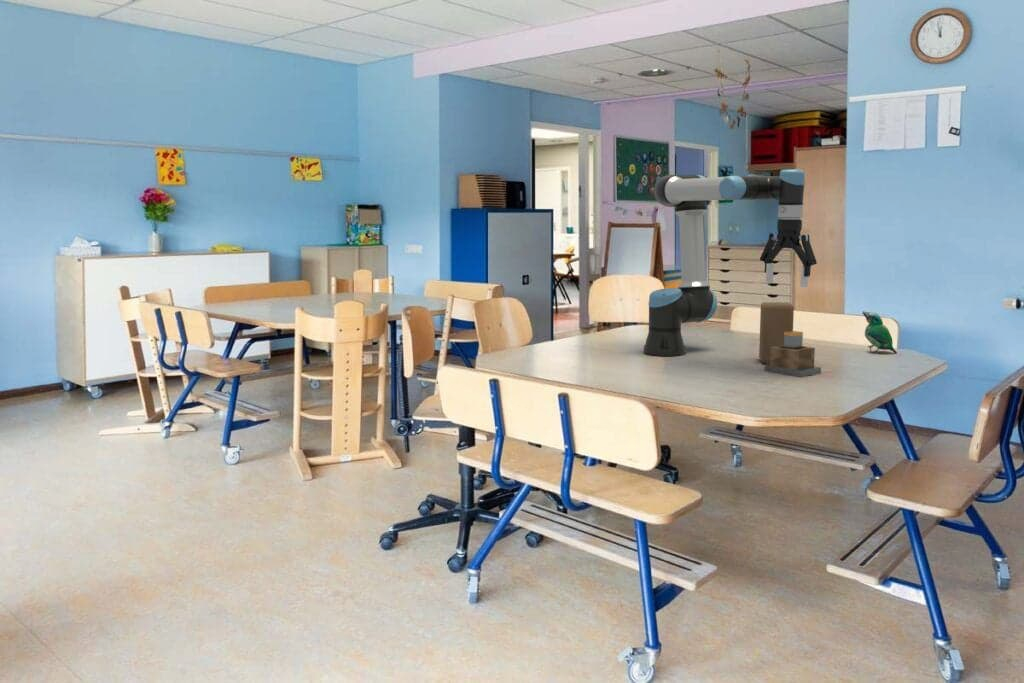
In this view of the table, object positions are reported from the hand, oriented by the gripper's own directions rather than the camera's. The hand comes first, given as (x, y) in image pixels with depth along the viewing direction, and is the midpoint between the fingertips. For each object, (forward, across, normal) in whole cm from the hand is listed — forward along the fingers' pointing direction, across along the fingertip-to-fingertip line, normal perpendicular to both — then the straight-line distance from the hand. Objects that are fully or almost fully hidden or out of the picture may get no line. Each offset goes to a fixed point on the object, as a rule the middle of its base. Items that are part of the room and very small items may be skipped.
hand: (786, 285), depth 274 cm
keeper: (+27, +7, -3) cm, 28 cm away
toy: (+28, +2, +52) cm, 59 cm away
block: (+28, -9, +8) cm, 31 cm away
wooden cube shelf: (+25, +7, -3) cm, 26 cm away
